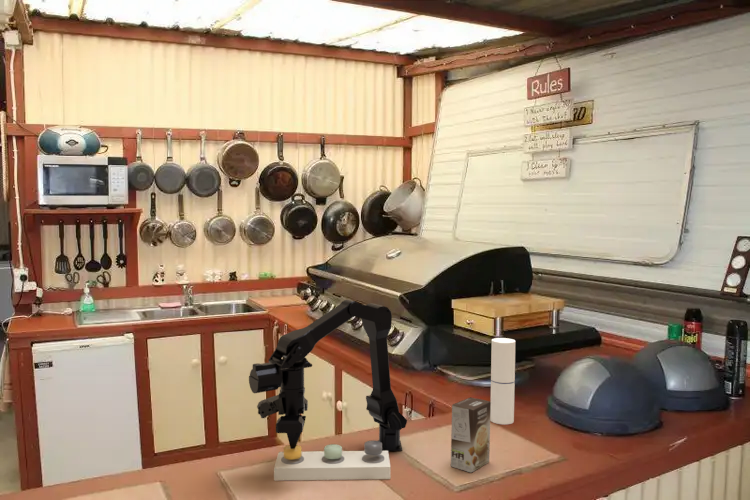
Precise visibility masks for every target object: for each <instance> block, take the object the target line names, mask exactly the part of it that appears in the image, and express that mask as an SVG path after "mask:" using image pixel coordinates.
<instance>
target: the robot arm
mask: <svg viewBox="0 0 750 500" xmlns="http://www.w3.org/2000/svg"><path fill="white" fill-rule="evenodd" d="M354 317H355V318H359V319H361V322H362V326H363V329H364V331H365V332H366V334H367V337H368V341H369V342H368V343H369V352H370V353H369V354H370V356H369V357H370V367H371V379H372V380H371V382H372V390H371V393H370V394H368V395H365V401H366V411H368V414H369V415H370V416H371V417H372V419H373V422H374V423H377V424H378V427H379V428H378V434H379V435H378V436H379V437H378V440H377V441H379V442H381V443H382V451H388V452H393V451H394V452H395V451H397V452H398V451H400V452H401V451H403V446H402V442H401V430H402V429H405V428H406V426H407V423H408V419H407V418H406V417H404V415H403V414H402V413H400V409H399V408H400V407H399V405H398V400H397V398H396V396H395V394H394V391H393V390H392V386H391V372H390V361H389V360H390V357H389V346H388V336H389V334H390V331H391V330H392V322H393V321H392V320H393V314H392V311H391V309H389V308H388V307H387V306H384V305H381V304H377V303H372V302H371V303H367V304H363V303H359V302H357V301H355V300H352V299H344V300H343V301H341V302H340V304H339V305H337V306H335V307H333V308H332V309H331V310H330V311H328V312H326V313H325V314H323V315H322V316H320V317H319V318H317V319H316V320H315V321H313V322H311V323H310V324H308V325H306V326H305V327H302V328H299V329H295V330H292V331H290V332H287V333H286V334H283V335H282V336H281V337H279V338H278V341H277V345H276V348H274V351H273V352H272V354H271V356H270V357H269V358H268V362H263V363H253V364H252V369H251V370H250V372H249V376H248V383H249V387H250V390H251V392H252V393H253V394H259V393H265V392H270V391H277V390H278V389H279V388H280V391H279V393H278V394H277V395H273V396H271V397H268V398H265V399H262V400H260V401H259V402H258V403H257V405H256V408H257V415H259V416H260V419H266V418H267V417H268V416H270V415H273V414H276V413H278V415H277V416H279V415H280V417H279V418H278V419H277V421H276V423H275V433H276V434H286V435H287V440H288V443H289V445H290V448H291V449H295V447H296V445H298V442H299V439H300V437H301V435H302V433H303V431H304V426H305V424H306V417H307V416H306V415H304V413H305V412H306V411H308V407H309V402H308V399H307V398H305V392H306V387H305V369H307V368H311V367H313V364H312V363H311V362H310V361H309V360H308V359H307V358H306V357H307V356H308V355H309V354H310V353H311V352H312V351H313V349H314V348H315V347H316V345H317V344H318V342H320V341H321V340H323V339H324V338H325V337H326V336H328V335H329V334H331V333H332V332H334V331H335V330H336V329H338V328H340V327H341V326H342V325H344V324H346V322H348V321H349V320H351V319H353V318H354ZM283 358H285V359H283Z"/></svg>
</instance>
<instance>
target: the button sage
mask: <svg viewBox="0 0 750 500" xmlns="http://www.w3.org/2000/svg"><path fill="white" fill-rule="evenodd" d="M323 451H324V457H325V458H327V459H338V458H340V457H341V456H342V451H343V447H342V446H341V445H339V444H335V443H334V444H333V443H331V444H327V445H325V446H324V449H323Z"/></svg>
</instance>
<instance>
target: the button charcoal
mask: <svg viewBox="0 0 750 500" xmlns="http://www.w3.org/2000/svg"><path fill="white" fill-rule="evenodd" d="M363 446H364V448H363V449H364V450H363V451H364V452H365V453H366V454H368V455H379V454H381V453H382V443H381V442H379V441H378V440H367V441H365V442H364V445H363Z"/></svg>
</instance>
